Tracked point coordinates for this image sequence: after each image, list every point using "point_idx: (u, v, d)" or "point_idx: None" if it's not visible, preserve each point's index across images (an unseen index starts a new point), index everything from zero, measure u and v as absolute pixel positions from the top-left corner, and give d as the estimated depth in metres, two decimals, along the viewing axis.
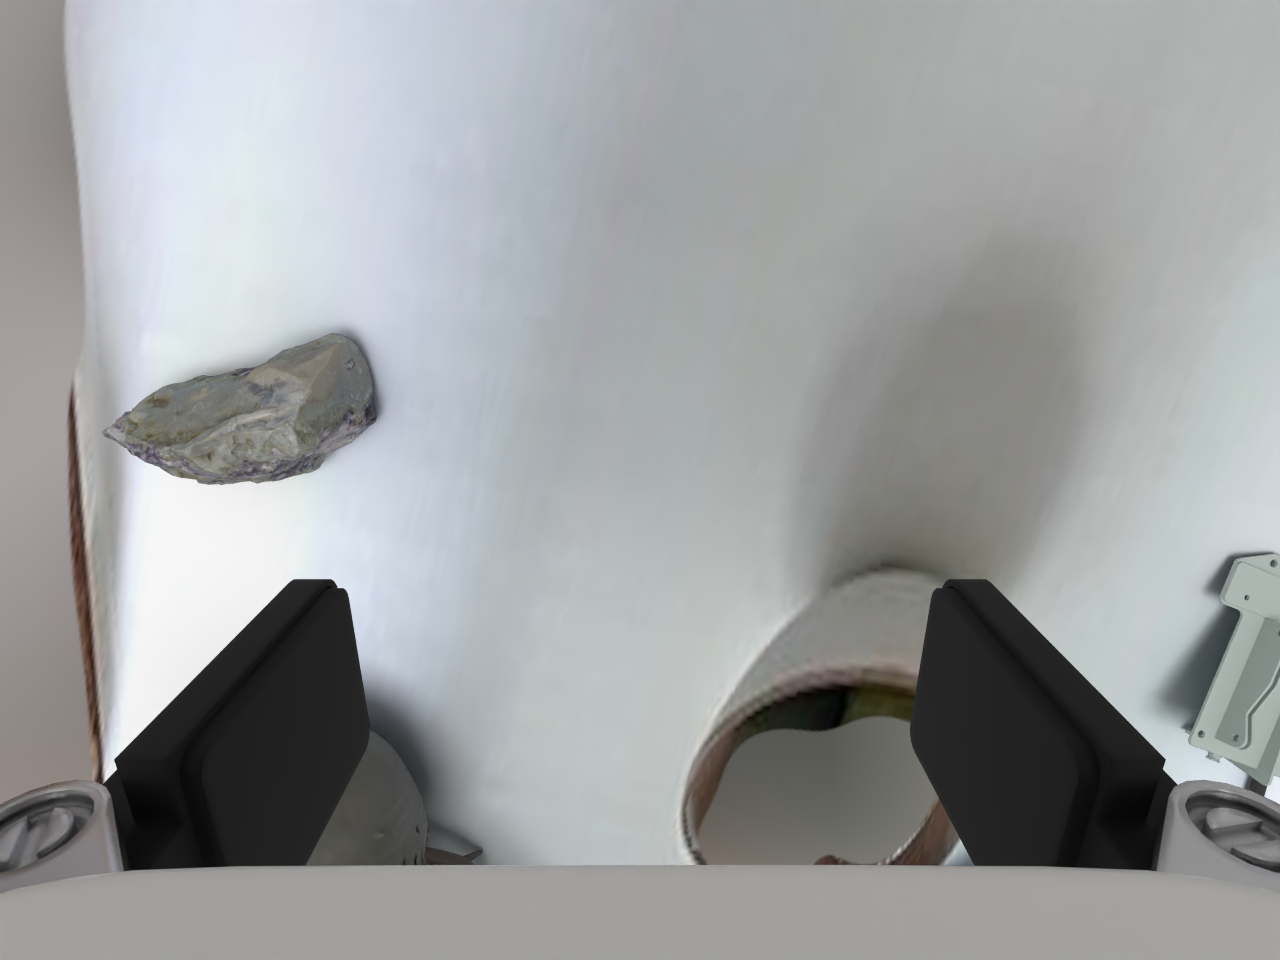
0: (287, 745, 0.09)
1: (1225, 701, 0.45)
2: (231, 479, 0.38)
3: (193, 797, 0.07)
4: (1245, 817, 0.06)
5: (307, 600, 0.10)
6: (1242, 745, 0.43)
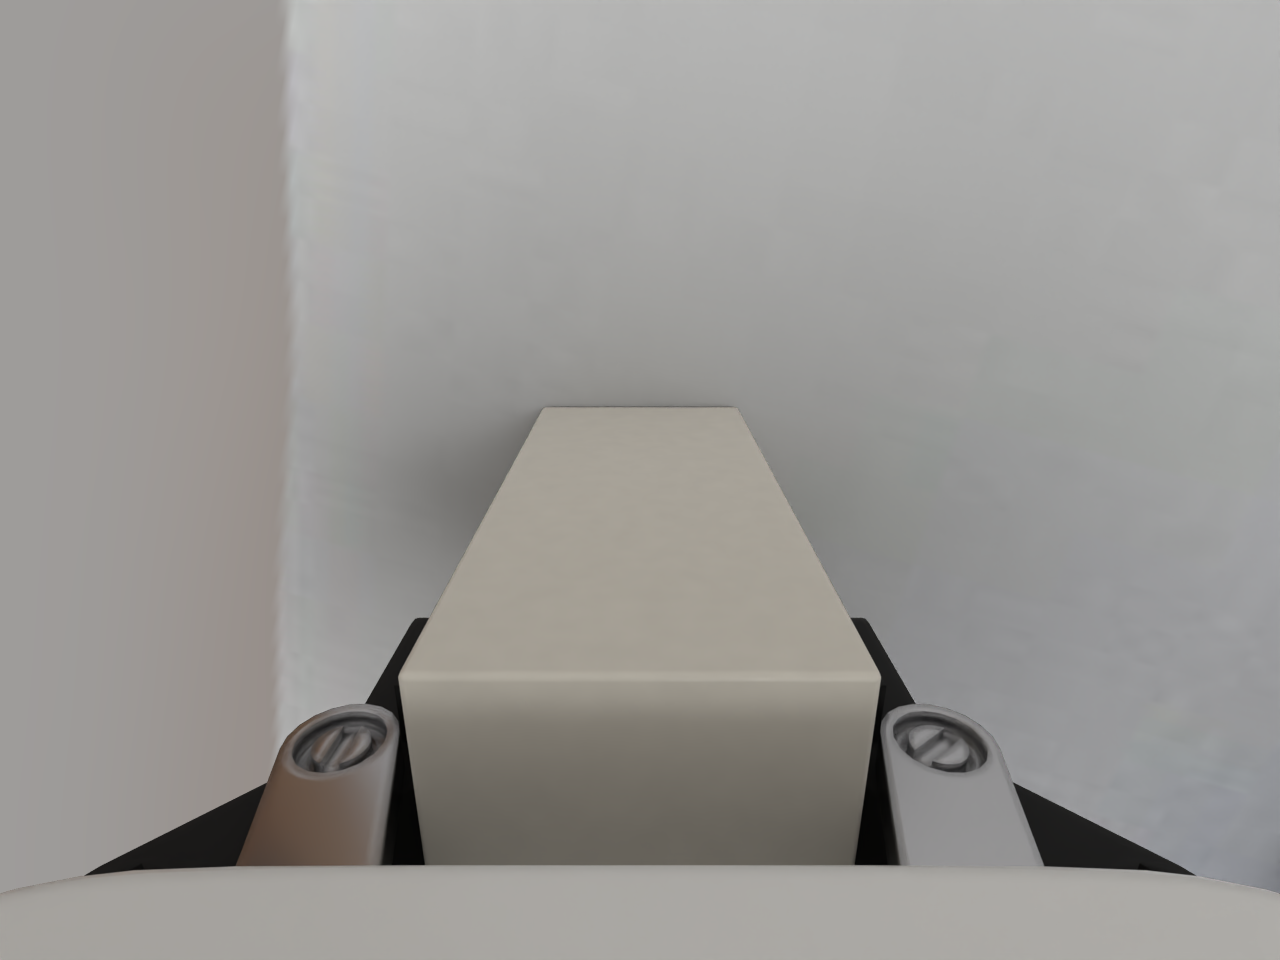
0: None
1: None
2: None
3: None
4: (933, 729, 0.08)
5: None
6: None
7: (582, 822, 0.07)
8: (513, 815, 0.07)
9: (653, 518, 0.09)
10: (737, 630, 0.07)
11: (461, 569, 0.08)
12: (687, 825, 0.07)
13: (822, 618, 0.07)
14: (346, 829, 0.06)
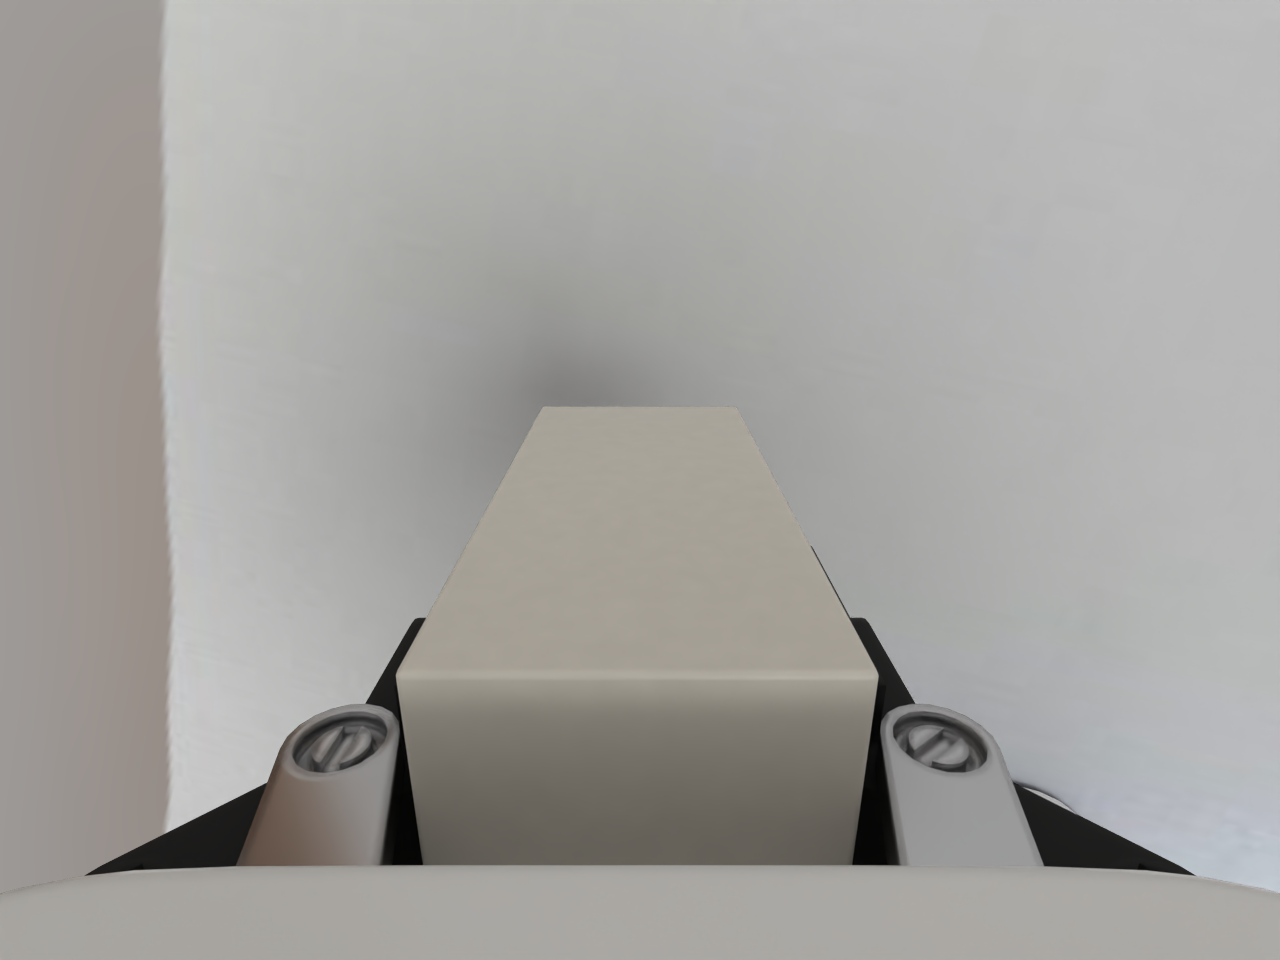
0: None
1: None
2: None
3: None
4: (933, 729, 0.08)
5: None
6: None
7: (580, 821, 0.07)
8: (512, 813, 0.07)
9: (651, 518, 0.09)
10: (735, 628, 0.07)
11: (458, 568, 0.08)
12: (683, 823, 0.07)
13: (820, 616, 0.07)
14: (347, 829, 0.06)
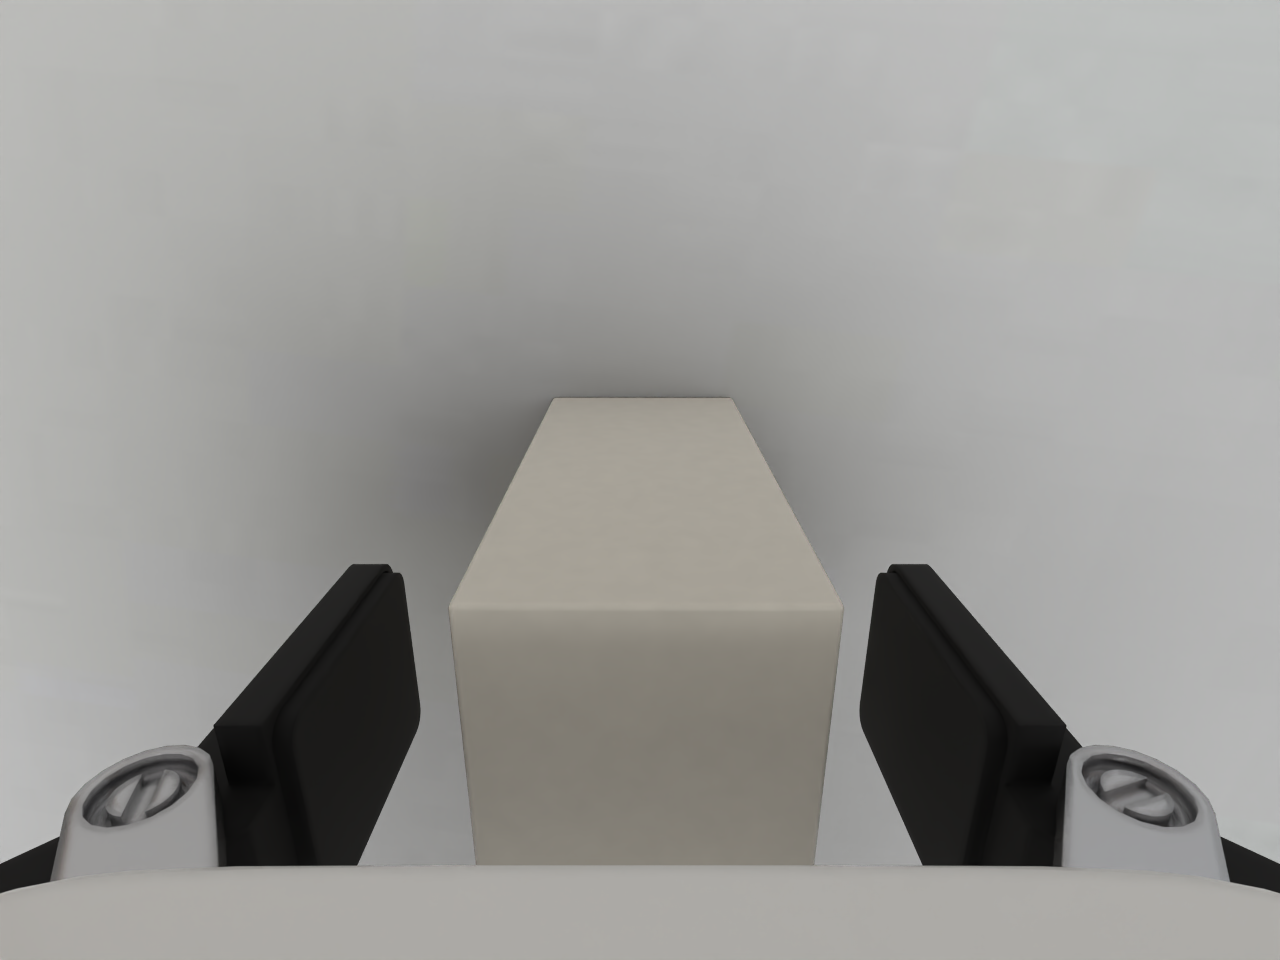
0: (357, 719, 0.09)
1: None
2: None
3: (284, 762, 0.08)
4: (1133, 777, 0.07)
5: (369, 583, 0.10)
6: None
7: (598, 732, 0.08)
8: (541, 726, 0.08)
9: (655, 490, 0.11)
10: (726, 574, 0.08)
11: (491, 528, 0.09)
12: (685, 735, 0.08)
13: (798, 565, 0.08)
14: None
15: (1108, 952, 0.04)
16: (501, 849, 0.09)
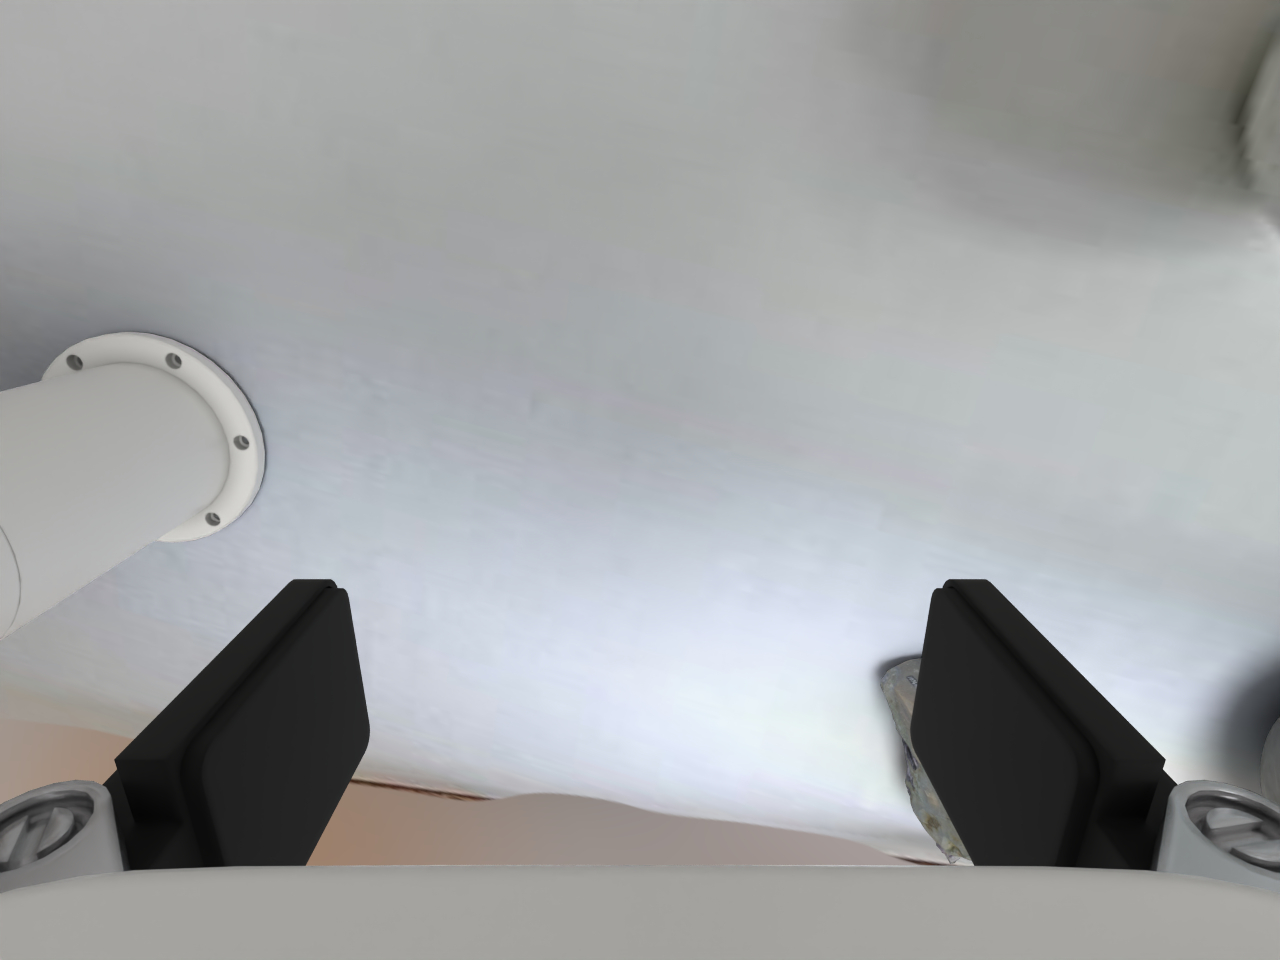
0: (287, 745, 0.09)
1: None
2: None
3: (193, 797, 0.07)
4: (1245, 817, 0.06)
5: (307, 600, 0.10)
6: None
7: None
8: None
9: None
10: None
11: None
12: None
13: None
14: None
15: (1108, 952, 0.04)
16: None
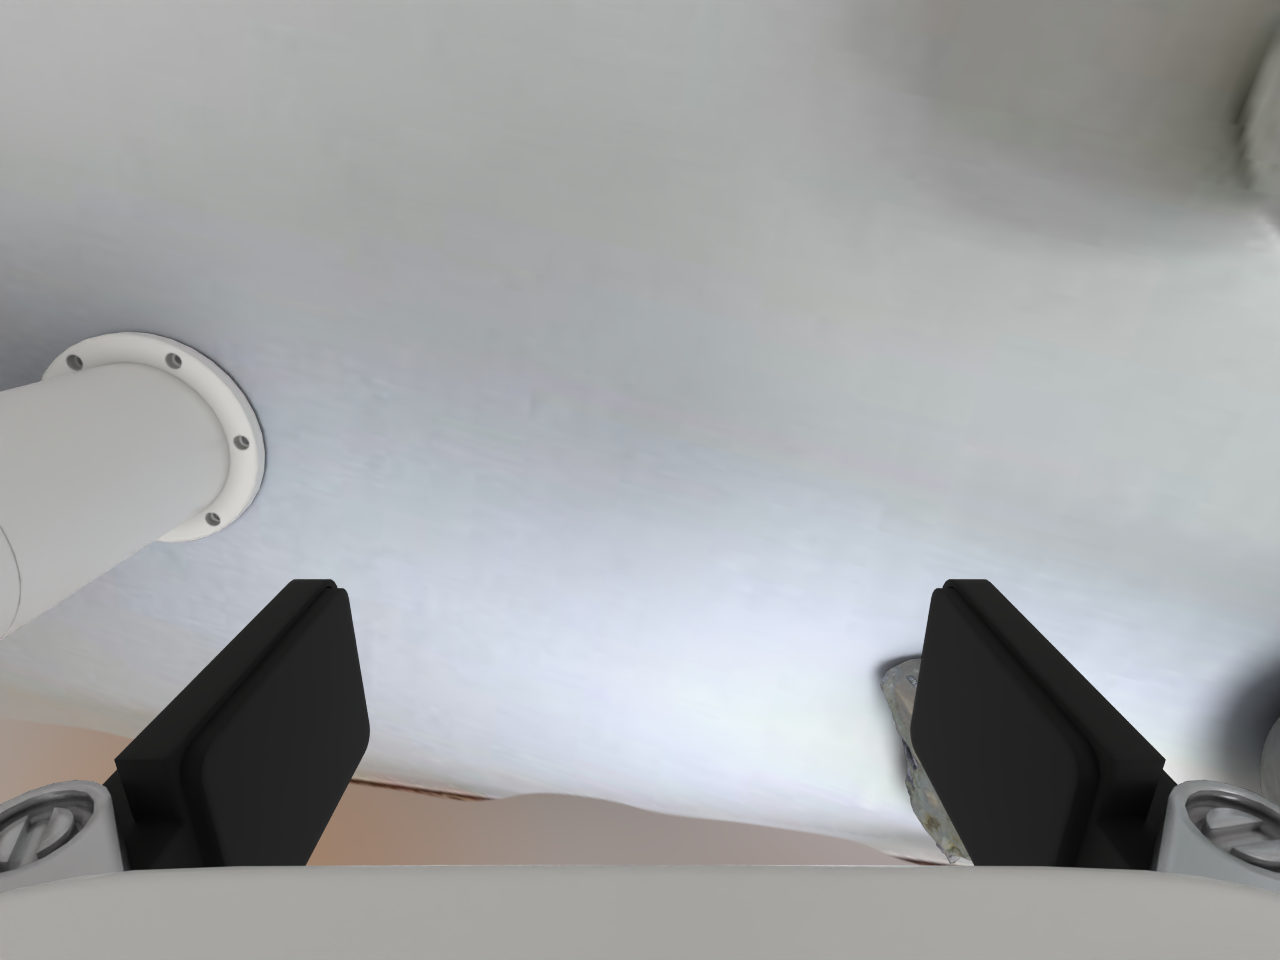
0: (287, 745, 0.09)
1: None
2: None
3: (193, 797, 0.07)
4: (1245, 817, 0.06)
5: (307, 600, 0.10)
6: None
7: None
8: None
9: None
10: None
11: None
12: None
13: None
14: None
15: (1108, 952, 0.04)
16: None
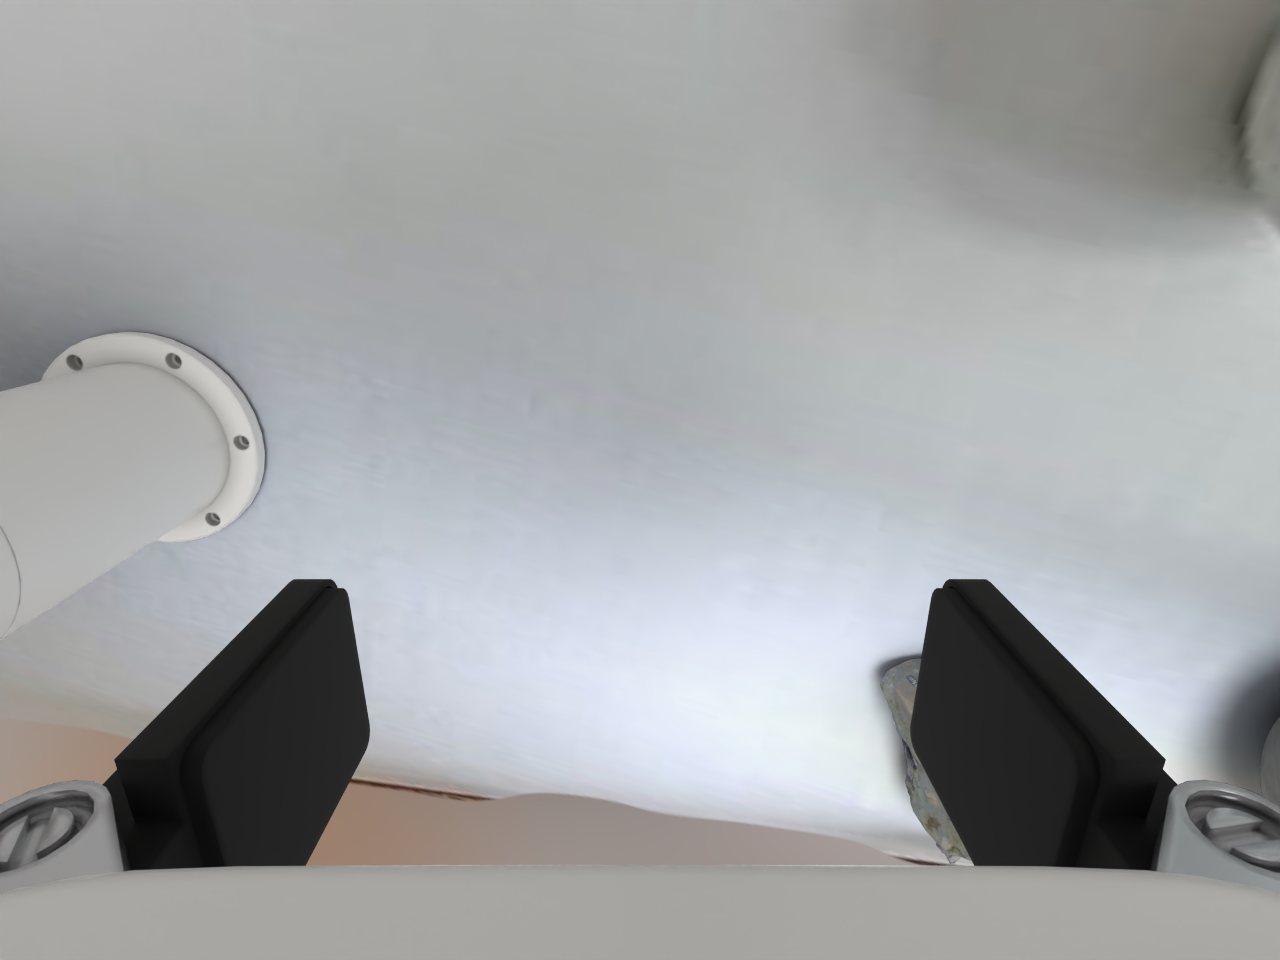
0: (287, 745, 0.09)
1: None
2: None
3: (193, 797, 0.07)
4: (1245, 817, 0.06)
5: (307, 600, 0.10)
6: None
7: None
8: None
9: None
10: None
11: None
12: None
13: None
14: None
15: (1108, 952, 0.04)
16: None
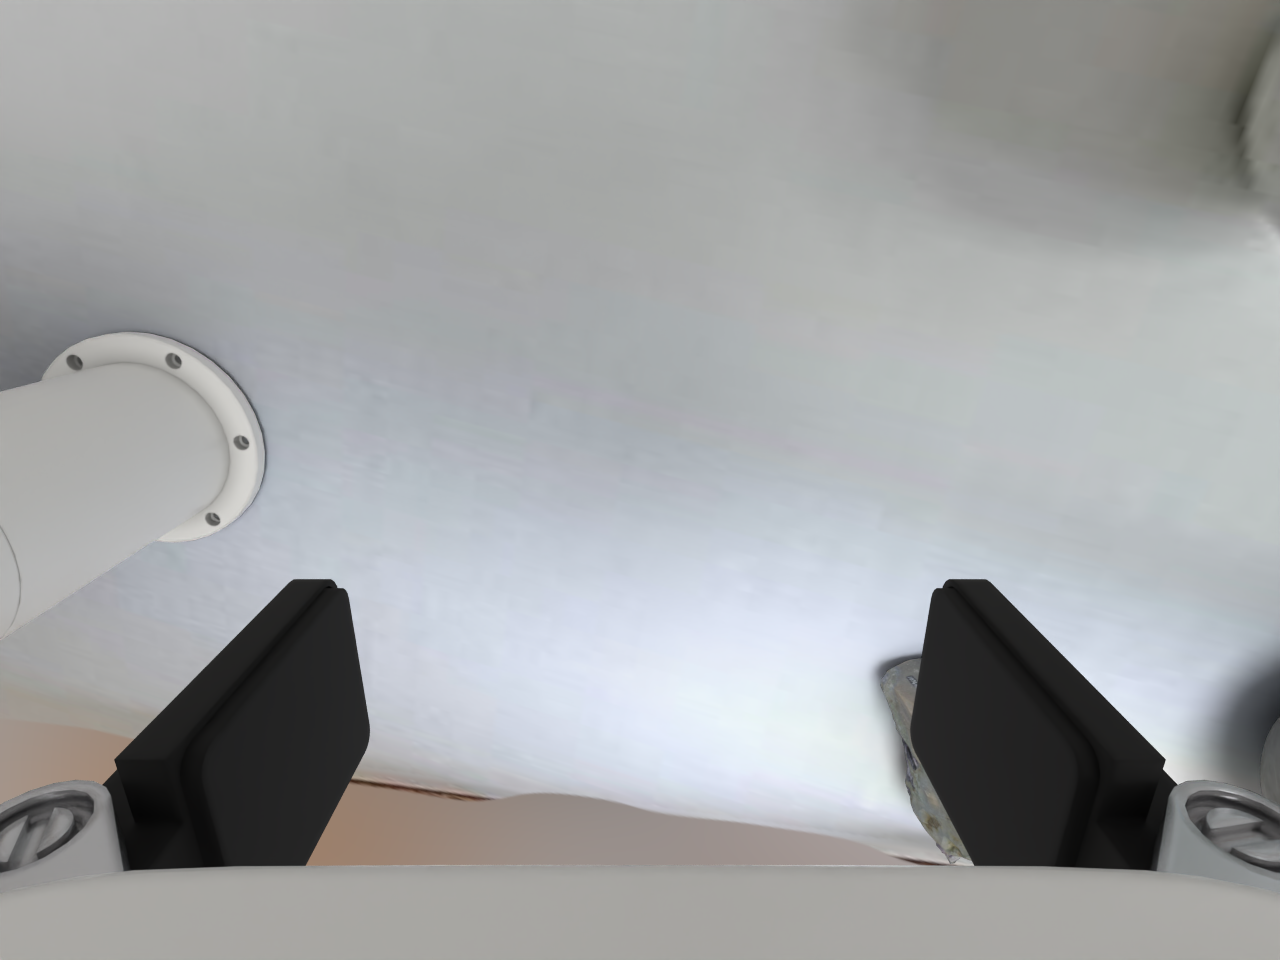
0: (287, 745, 0.09)
1: None
2: None
3: (193, 797, 0.07)
4: (1245, 817, 0.06)
5: (307, 600, 0.10)
6: None
7: None
8: None
9: None
10: None
11: None
12: None
13: None
14: None
15: (1108, 952, 0.04)
16: None
